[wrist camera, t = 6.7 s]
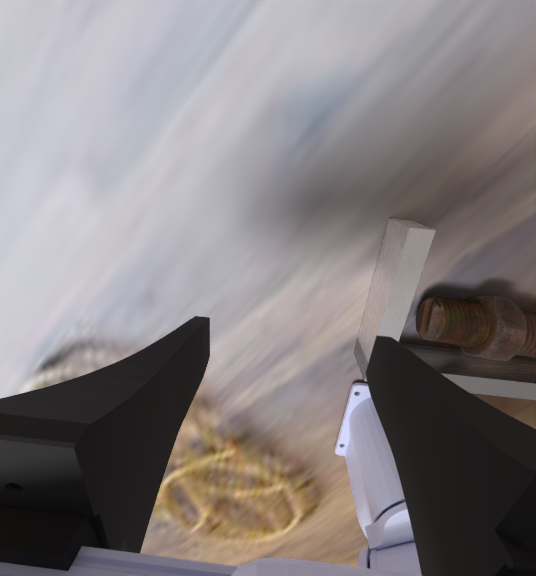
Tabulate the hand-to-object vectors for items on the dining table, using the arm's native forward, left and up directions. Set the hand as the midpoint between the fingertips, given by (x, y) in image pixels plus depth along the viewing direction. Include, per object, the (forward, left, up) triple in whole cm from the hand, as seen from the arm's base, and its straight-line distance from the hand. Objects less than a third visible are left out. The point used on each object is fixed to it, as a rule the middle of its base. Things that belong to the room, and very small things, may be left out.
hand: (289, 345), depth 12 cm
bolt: (-2, -18, -10) cm, 21 cm away
